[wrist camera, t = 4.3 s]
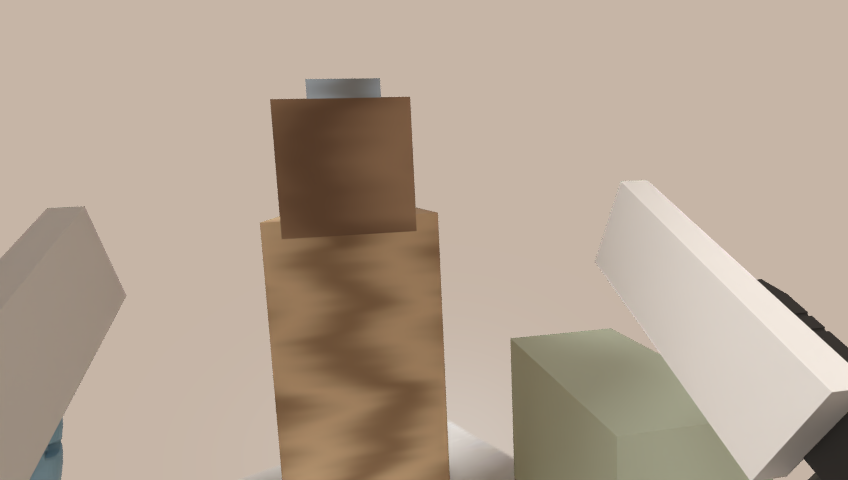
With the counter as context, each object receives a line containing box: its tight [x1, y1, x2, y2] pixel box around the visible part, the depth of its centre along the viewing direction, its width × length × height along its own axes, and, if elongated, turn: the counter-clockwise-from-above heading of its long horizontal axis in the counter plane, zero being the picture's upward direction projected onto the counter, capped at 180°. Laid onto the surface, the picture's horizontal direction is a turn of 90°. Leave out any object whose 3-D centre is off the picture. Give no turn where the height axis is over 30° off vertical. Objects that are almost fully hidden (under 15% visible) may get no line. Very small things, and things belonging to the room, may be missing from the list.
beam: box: [270, 78, 417, 239], centre depth 25 cm, size 5×24×9 cm, turn 9°
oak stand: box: [260, 208, 450, 480], centre depth 31 cm, size 9×12×30 cm
